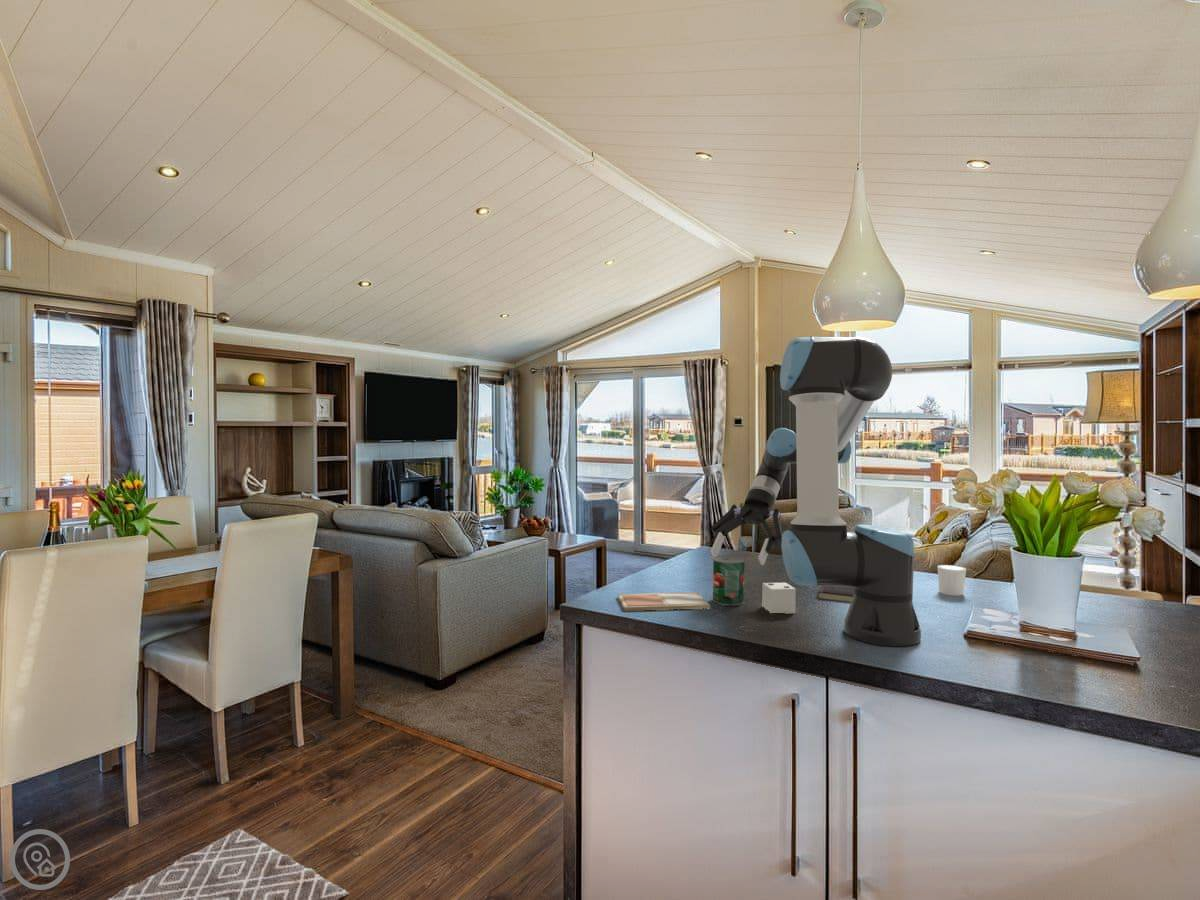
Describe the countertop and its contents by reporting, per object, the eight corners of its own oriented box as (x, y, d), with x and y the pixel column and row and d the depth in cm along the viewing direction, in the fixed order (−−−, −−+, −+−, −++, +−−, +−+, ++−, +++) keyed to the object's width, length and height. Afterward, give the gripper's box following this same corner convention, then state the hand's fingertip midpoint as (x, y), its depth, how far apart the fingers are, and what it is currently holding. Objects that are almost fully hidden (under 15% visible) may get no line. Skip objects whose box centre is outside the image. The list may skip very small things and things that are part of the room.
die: (795, 613, 153) (795, 588, 153) (771, 614, 153) (771, 588, 152) (785, 606, 159) (785, 582, 159) (762, 606, 159) (762, 582, 158)
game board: (710, 609, 156) (710, 604, 156) (625, 611, 154) (625, 607, 154) (697, 595, 168) (697, 591, 168) (618, 597, 166) (618, 593, 166)
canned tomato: (750, 603, 161) (751, 560, 161) (726, 607, 157) (727, 563, 157) (729, 595, 168) (730, 554, 168) (706, 599, 164) (706, 557, 164)
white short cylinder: (969, 596, 169) (970, 570, 169) (942, 595, 170) (942, 569, 170) (959, 590, 176) (960, 564, 175) (932, 588, 177) (933, 563, 177)
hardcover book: (885, 586, 181) (885, 578, 181) (884, 608, 160) (884, 599, 160) (825, 580, 188) (825, 572, 188) (817, 600, 167) (817, 591, 167)
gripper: (809, 508, 173) (786, 573, 162) (726, 500, 188) (699, 559, 177) (802, 490, 168) (777, 556, 157) (717, 484, 184) (689, 543, 173)
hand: (736, 558), depth 167 cm, fingers open, 13 cm apart
